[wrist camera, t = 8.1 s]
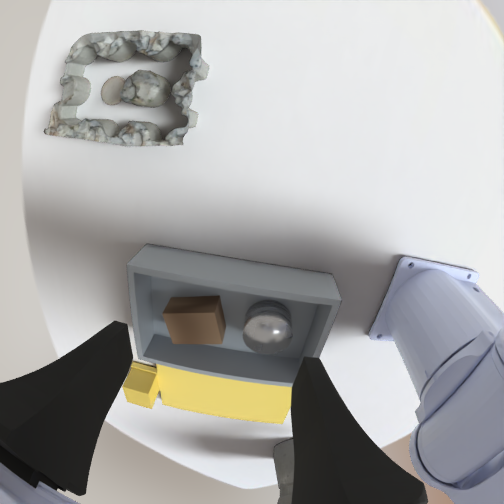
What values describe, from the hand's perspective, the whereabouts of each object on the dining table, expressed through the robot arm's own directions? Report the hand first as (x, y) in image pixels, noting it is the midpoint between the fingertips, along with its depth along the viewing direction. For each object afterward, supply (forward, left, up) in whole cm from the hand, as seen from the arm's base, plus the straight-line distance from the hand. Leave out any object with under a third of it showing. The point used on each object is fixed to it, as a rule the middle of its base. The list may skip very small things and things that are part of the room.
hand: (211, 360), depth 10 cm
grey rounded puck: (-3, +5, -10) cm, 11 cm away
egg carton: (+9, -11, -11) cm, 18 cm away
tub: (0, +5, -10) cm, 12 cm away
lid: (+1, +16, -11) cm, 19 cm away
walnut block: (+3, +6, -10) cm, 12 cm away
